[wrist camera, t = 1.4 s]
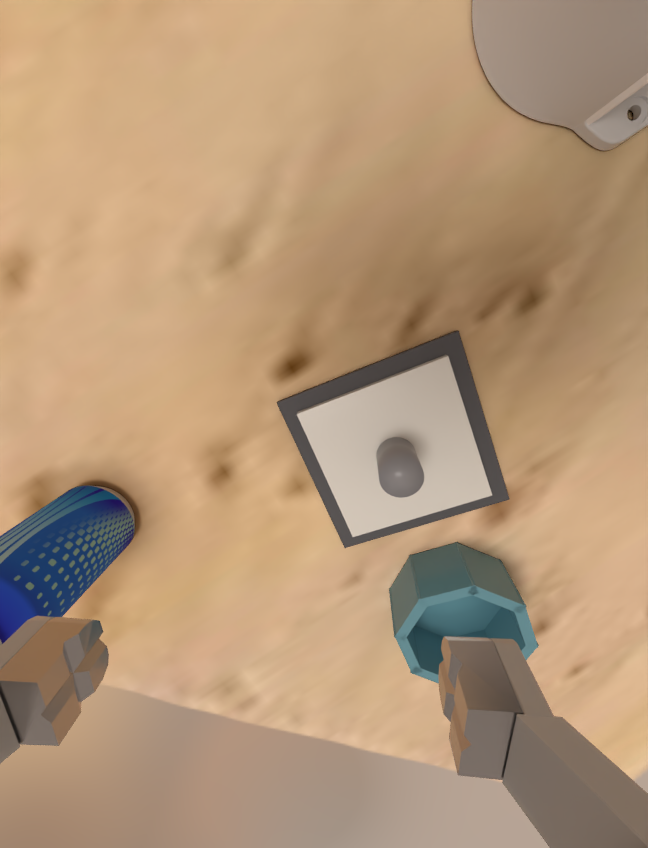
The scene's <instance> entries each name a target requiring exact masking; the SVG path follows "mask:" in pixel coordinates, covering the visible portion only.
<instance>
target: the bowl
mask: <svg viewBox="0 0 648 848" xmlns="http://www.w3.org/2000/svg"><path fill="white" fill-rule="evenodd" d="M389 593H390V602H391V611H392V620H393V628H394V637H395V638H396V640H397V642H398V644H399V646H400V648H401V651H402V653H403V655H404V657H405V659H406V661H407V664H408V666H409V668H410V670H411V673H412V674H415V675H418V676H421V677H423V678H426V679H428V680H431V681H434V682H436V683H439V678H438V675H439V664H440V663H441V662H442V661H443V660H444V659H443V655H442V651H441V645H442V640H443V637H444V636H451V637H479V638H488V639H489V638H498V639H513V640H514V641H515V642H516V643H517V644H518V646H519V648H520V650H521V652H522V654H523V656H524V658H525V660H527V658H528V657H529V656H530V655H531V654H532V653H533V651H534V650H535V649H536V648H537V647H538V646H539V645H538V643H537V641H536V639H535V635H534V632H533V629H532V626H531V623H530V620H529V617H528V614H527V610H526V605H525V603H524V601H523V600H522V598H521V596H520V594H519V592H518V590H517V589H516V587H515V585H514V583H513V581H512V580H511V578H510V576H509V574H508V572H507V571H506V569H505V567H504V565H503V563H502V561H501V560H500V559H496V558H494V557H491V556H489V555H486V554H484V553H481V552H479V551H476V550H474V549H471V548H469V547H467V546H464V545H462V544H459V543H458V542H455V543H453V544H449V545H446V546H442V547H439V548H435V549H432V550H428V551H424V552H421V553H417V554H414V555H410V556H409V558H408V560H407V561H406V563H405V565H404V566H403V568H402V570H401V571H400V573H399V575H398V576H397V578H396V580H395V581H394V583H393V584H392V586H391V588H389Z"/></svg>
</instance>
